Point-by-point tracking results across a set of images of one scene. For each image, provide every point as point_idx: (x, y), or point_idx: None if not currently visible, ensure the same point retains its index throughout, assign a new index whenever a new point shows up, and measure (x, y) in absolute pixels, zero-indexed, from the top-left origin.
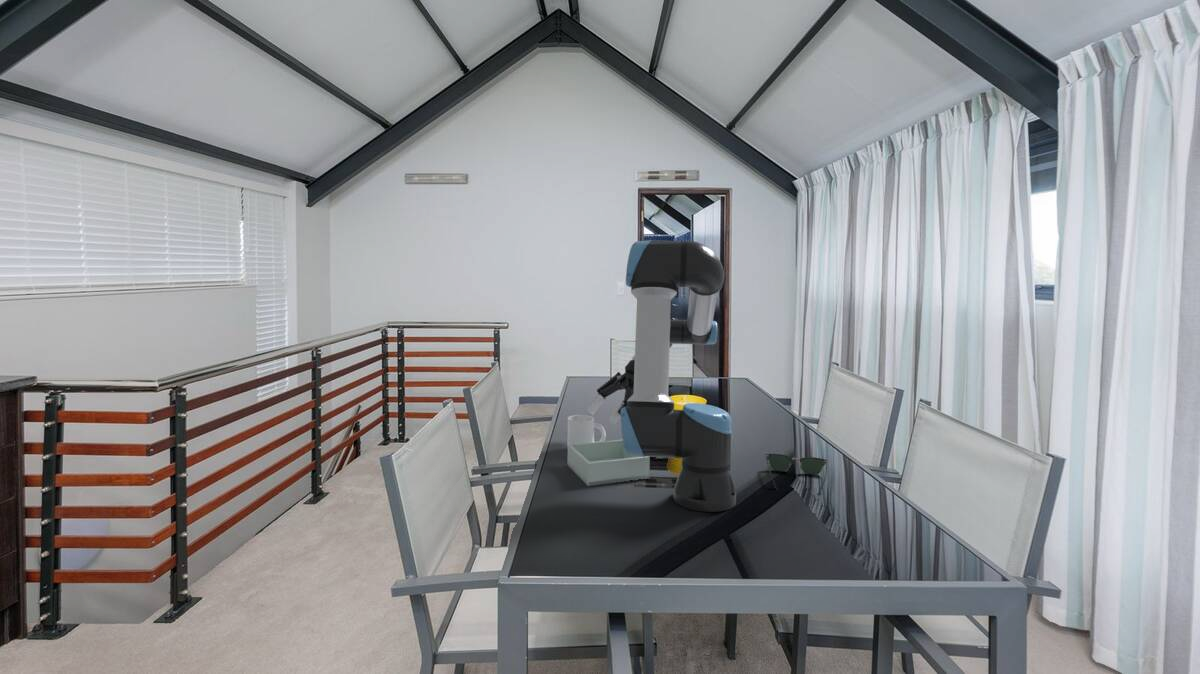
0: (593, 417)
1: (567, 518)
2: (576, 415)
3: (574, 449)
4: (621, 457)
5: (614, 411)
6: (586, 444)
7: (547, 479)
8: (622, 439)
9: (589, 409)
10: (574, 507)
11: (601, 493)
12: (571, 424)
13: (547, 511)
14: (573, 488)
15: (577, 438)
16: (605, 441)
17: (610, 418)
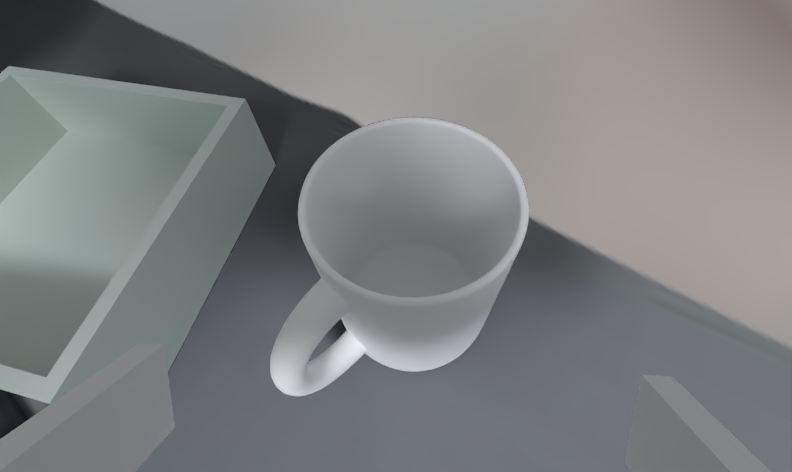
0: (367, 292)
1: (3, 31)
2: (520, 211)
3: (170, 93)
4: None
5: (64, 415)
6: (190, 166)
7: (216, 76)
8: (56, 389)
9: (648, 399)
10: (22, 57)
11: None
12: (388, 140)
13: (66, 18)
14: None
15: (357, 213)
16: (131, 262)
17: (129, 351)
